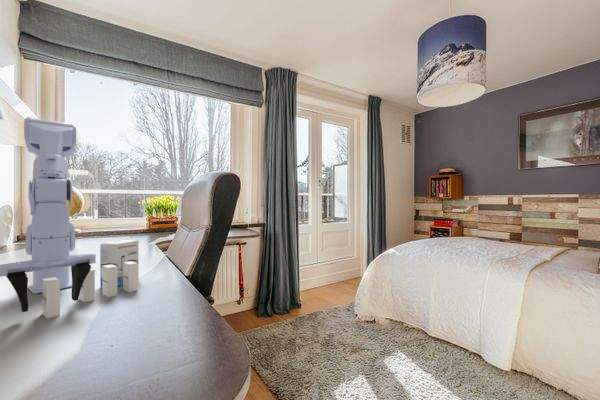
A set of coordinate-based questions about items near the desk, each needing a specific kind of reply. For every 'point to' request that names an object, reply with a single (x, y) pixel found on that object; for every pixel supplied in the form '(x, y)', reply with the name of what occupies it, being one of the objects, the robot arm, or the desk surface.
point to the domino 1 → (51, 297)
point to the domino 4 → (130, 276)
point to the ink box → (118, 256)
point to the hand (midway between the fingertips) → (51, 304)
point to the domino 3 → (109, 280)
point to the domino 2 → (88, 287)
